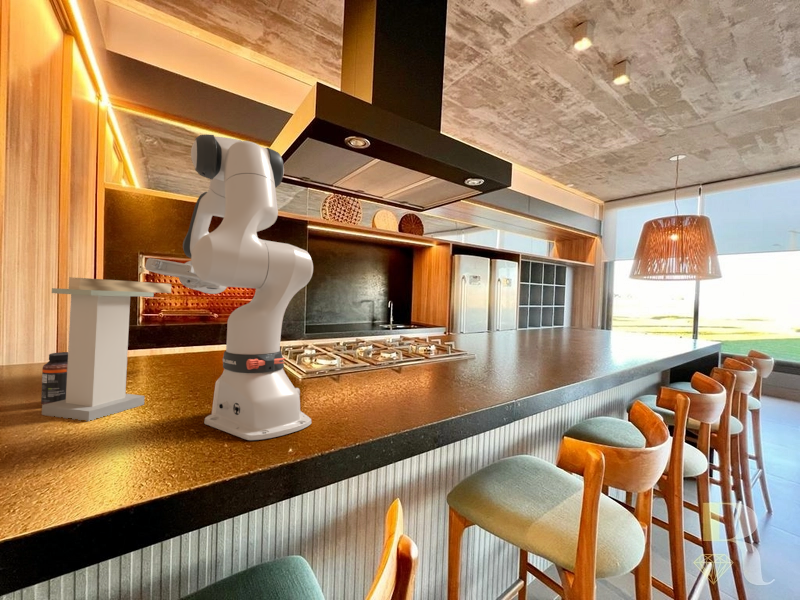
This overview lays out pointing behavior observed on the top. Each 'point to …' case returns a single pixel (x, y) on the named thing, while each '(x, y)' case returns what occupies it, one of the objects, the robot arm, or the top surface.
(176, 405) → the top surface
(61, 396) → the supplement bottle
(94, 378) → the stand
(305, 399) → the top surface
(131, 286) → the baton
